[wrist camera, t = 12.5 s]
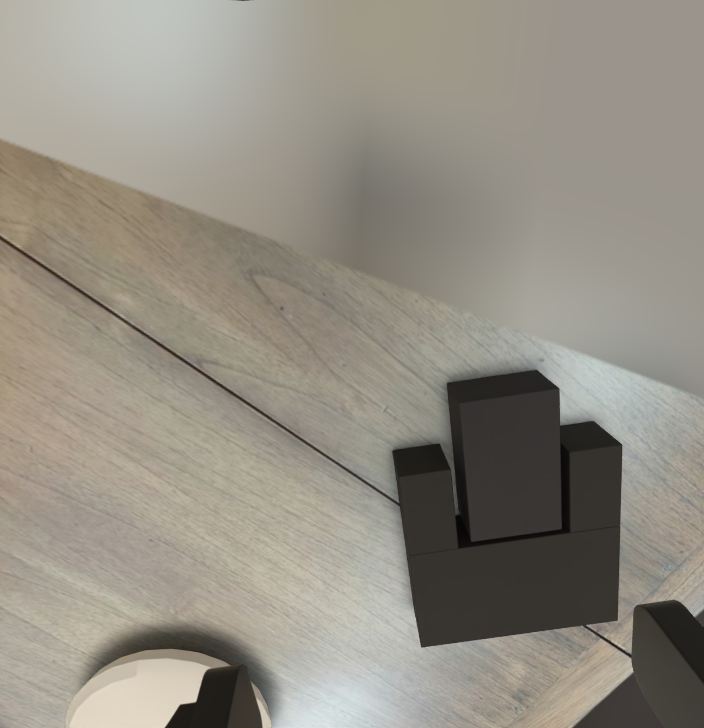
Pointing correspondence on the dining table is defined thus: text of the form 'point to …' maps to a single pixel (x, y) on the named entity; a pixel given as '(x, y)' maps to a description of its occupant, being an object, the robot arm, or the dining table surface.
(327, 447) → the dining table surface
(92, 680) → the pot lid
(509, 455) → the pad
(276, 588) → the dining table surface
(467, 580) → the socket pad
